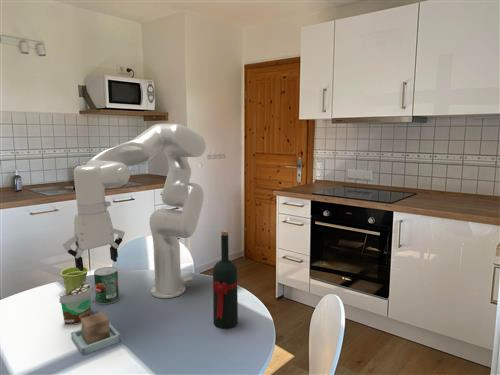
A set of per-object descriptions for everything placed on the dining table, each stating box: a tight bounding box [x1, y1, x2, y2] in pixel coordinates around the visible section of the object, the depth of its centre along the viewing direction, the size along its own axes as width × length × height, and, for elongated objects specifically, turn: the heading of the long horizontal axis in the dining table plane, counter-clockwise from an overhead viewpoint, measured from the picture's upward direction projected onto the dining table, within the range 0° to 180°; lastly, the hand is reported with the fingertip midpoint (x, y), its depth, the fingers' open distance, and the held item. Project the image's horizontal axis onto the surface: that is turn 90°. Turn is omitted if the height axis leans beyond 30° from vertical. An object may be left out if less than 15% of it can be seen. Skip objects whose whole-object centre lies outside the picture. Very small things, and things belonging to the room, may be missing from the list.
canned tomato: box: [93, 266, 120, 305], centre depth 136 cm, size 8×8×11 cm
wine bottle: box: [212, 229, 239, 330], centre depth 118 cm, size 8×10×30 cm
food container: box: [58, 281, 94, 325], centre depth 123 cm, size 12×6×10 cm, turn 168°
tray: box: [70, 322, 122, 356], centre depth 111 cm, size 11×11×2 cm
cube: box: [80, 311, 110, 345], centre depth 111 cm, size 6×6×6 cm
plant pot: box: [60, 266, 90, 295], centre depth 142 cm, size 9×9×9 cm
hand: (97, 264), depth 112 cm, fingers open, 9 cm apart
